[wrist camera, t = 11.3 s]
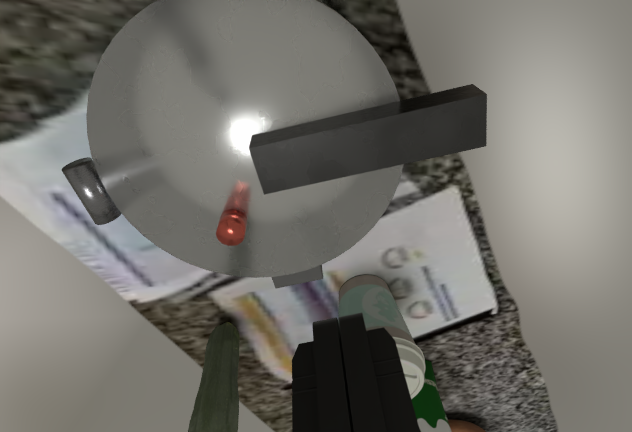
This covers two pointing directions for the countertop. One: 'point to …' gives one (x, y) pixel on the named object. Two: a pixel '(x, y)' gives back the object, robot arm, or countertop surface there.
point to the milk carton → (430, 405)
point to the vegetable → (218, 384)
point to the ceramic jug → (464, 426)
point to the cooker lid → (255, 133)
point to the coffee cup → (384, 322)
